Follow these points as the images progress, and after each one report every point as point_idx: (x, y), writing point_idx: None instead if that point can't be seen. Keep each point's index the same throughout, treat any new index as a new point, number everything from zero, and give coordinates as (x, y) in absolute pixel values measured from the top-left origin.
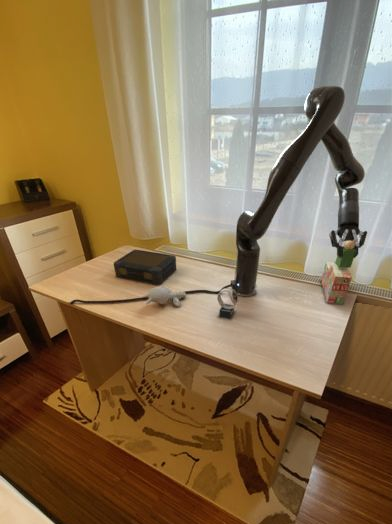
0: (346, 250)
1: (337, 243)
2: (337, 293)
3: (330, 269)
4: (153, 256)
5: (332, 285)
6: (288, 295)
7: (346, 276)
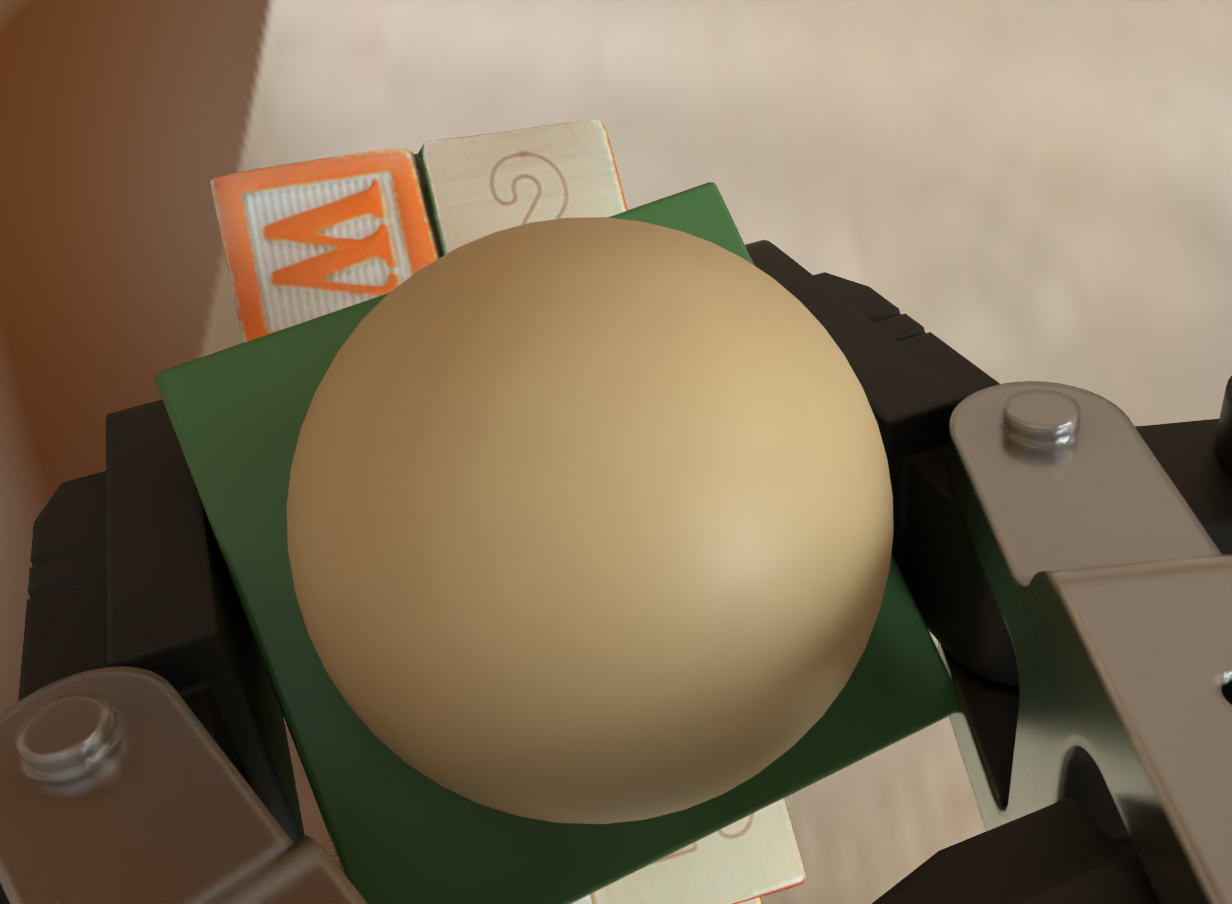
0: (624, 217)
1: (1216, 496)
2: None
3: None
4: None
5: None
6: (1102, 378)
7: (349, 197)
